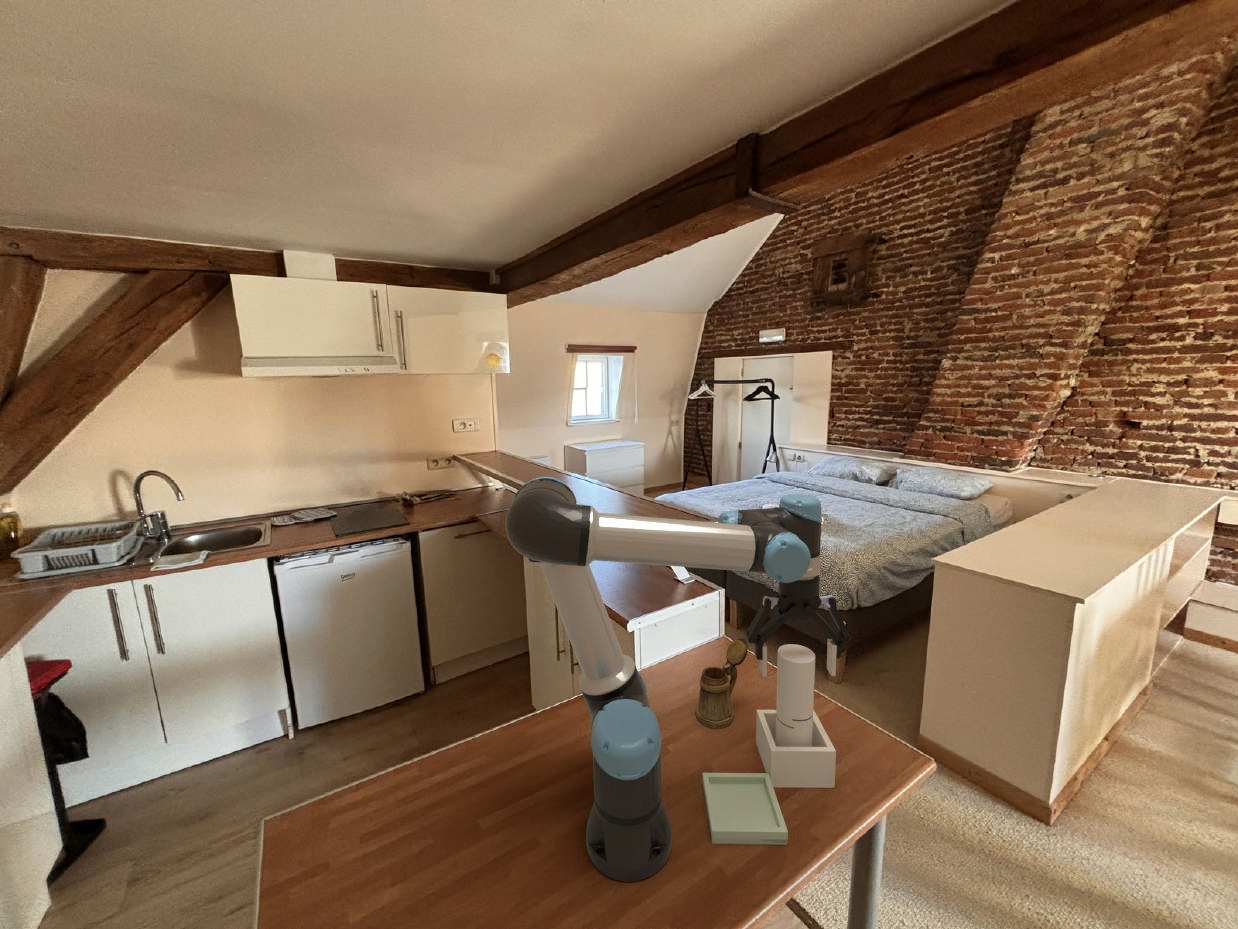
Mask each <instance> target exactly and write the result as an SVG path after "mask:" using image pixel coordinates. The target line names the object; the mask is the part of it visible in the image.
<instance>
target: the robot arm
mask: <svg viewBox="0 0 1238 929" xmlns="http://www.w3.org/2000/svg"><path fill="white" fill-rule="evenodd" d="M821 503H822V502H821V501H820V500H819V498H818V497H816V496H813V495H810V494H805V493H804V494H803V493H789V494H784V495H782V496H781V497H780V500H779V503H778V506H777V507H769V508H767V507H765V508H750V509H739V508H737V509H735V510H734V509H733V510H726V511H723V512H721V513H720V514H719V515H718V516H719V517H718V520H717V522H713V521H702V520H689V519H688V520H687V519H676V518H667V517H666V518H664V517H653V516H644V515H643V516H641V515H631V514H630V515H629V514H621V513H619V514H618V513H617V514H616V513H607V512H598V511H597V510H596V508H595V507H594V506H593V505H585V504H578V503H577V498H576V495H575V493H574V491H573V490H572V489H571V488H570V487H569V485H568V484H567V483H565V482H564V481H562V480H561V479H558V478H555V477H553V476H552V477H551V476H540V477H535V478H532V479H531V480H529V481H527V482H526V483H524V484H522V486H520V488H519V489H518V490H517V491H516V492H515V495H514V498H513V500H512V502H511V504H510V506H509V507H508V509H507V512H506V514H505V520H504V528H505V529H504V530H505V533H506V537H507V540H508V541H509V543H510V544H511V546H512V547H513V549H514V550H515V551H516V552H517V553H519V554H520V555H522V556H524V557H525V558H527V560H528V562H529V563H530V564H533V565H536V566H539V567H540V570H541V571H542V574H543V576H544V579H545V582H546V584H547V587H548V589H549V592H550V594H551V597H552V600H553V602H554V604H555V607H556V609H557V611H558V614H559V616H560V619H561V621H562V625H563V627H564V629H565V632H566V635H567V637H568V640H569V642H570V644H571V647H572V650H573V652H574V655H575V657H576V660H577V662H578V665H579V667H580V669H581V675H580V677H579V680H578V686H579V690H580V691H581V694H582V696H583V699H584V701H585V704H586V707H587V709H588V712H589V717H590V726H591V727H590V728H591V732H590V746H591V750H592V772H593V775H592V776H593V793H594V801H593V805H592V807H591V810H590V814H589V816H588V818H587V823H586V828H585V829H586V830H585V842H586V845H585V846H586V851H587V854H588V856H589V860H590V861H591V863H592V864H593V865H594V867H595V868H596V869H597V870H598V872H600V873H601V874H603V875H604V876H606V877H608V878H610V879H612V880H616V881H620V882H629V883H630V882H631V883H632V882H639V881H642V880H646V879H648V878H650V877H652V876H654V875H655V874H657V873H658V872H659V871H660V870H662V868H663V867H664V865H665V864H667V861H668V859H669V857H670V855H671V851H672V847H673V830H672V829H673V828H672V824H671V820H670V817H669V815H668V813H667V810H666V807H665V804H664V802H663V800H662V770H661V769H662V767H661V766H662V765H661V763H662V762H661V761H662V757H661V754H662V753H661V750H662V741H663V740H662V733H661V729H660V723H659V720H658V718H657V716H656V714H655V712H654V711H653V710H652V709H651V706H650V703H649V699H648V694H647V693H648V691H647V687H646V686H647V685H646V683H645V681H644V678H643V677H642V676H641V673H640V672H639V671H638V669H637V666H636V663H635V661H634V659H633V658H632V657H631V656H629V655H627V654H625V653H623V650H622V648H621V645H620V643H619V640H618V638H617V635H616V634H617V633H616V632H615V629H614V627H613V624H612V621H611V619H610V618H611V617H610V615H609V614H608V611H607V608H606V605H605V603H604V599H603V598H602V595H601V592H600V589H599V586H598V584H597V582H596V579H595V576H594V574H593V570H592V568H591V565H590V564H592V563H593V562H595V561H598V562H612V563H624V564H625V563H626V564H638V565H640V564H641V565H654V566H666V567H667V566H669V567H679V568H680V567H682V568H694V569H696V568H697V569H707V570H708V569H709V570H722V571H725V570H726V571H734V572H735V571H738V572H750V573H762V574H766V575H767V576H768V577H769V578H771V579H774V580H776V581H778V594H777V597H775V596H774V597H773V596H769V595H768V594H763V595H762V596H761V603H760V604H761V605H760V607H759V608H758V610H757V612H756V614H755V616H754V618H753V620H752V621H751V623H750V625H749V627H748V629H747V631H746V633H745V637H746V641H747V643H749V644H754V655H755V657H756V660H758V661H759V670H760V673H761V675H762V678H767V677H768V671H767V670H768V667H767V666H768V646H767V644H766V642H767V641H768V640H769V639H770V638H771V637H772V636H773V635H774V633H776V632H777V630H778V629H780V627H781V626H782V625H783V624H785V623H786V622H788V620H789V619H790V620H791V621H797V620H802V621H808V620H809V619H810V618H812V619H813V620H814V621H815V622H816V623H817V624H818V625H819V626H820V627H821V629H823V631H824V632H825V633H826V634H827V636H829V637H830V638H827V650H826V651H827V652H826V654H827V655H826V669H827V671H828V672H829V674H830V675H831V677H836V676H837V675H836V674H837V672H836V671H837V660H838V659H841V656H842V647H844V646H845V642H847V643H850V642H851V641H852V639H853V637H852V636H851V634H850V632H849V629H847V626H846V625H845V622H844V620H843V618H842V616H841V614H840V613H839V611H838V609H837V606H838V605H837V599H836V598H835V597H834V596H833V595H832V594H831V593H830V592H827V593H826V594H825V595H824V596H820V585H821V584H820V583H821V578H820V576H819V575H820V572H821V545H822V544H821V539H822V538H821V536H822V523H823V517H822V516H823V515H822V514H823V513H822V504H821ZM776 605H778V608H777V609H776V611H775V612H774V614H773V616H771V618H770V619H769V620H768V621H767V622H766V620H767V618H768V617H769V615H770V613H771V610H773V609H774V608H775V606H776ZM821 605H823V606H824V607H825V608H827V610H828V612H829V614H830V616H831V617H832V619H833V622H834V623H835V626H836V627H837V629H838V631H839V633H836V632H835V630H833V628H832V627H831V626H830V625H829V624H828V623H827V622H826V620H825V619H824V618H823V617H822V616H821V615H820V614H819V613H818V611H817V610H818V609H819V608H820V607H821ZM765 622H766V623H765Z"/></svg>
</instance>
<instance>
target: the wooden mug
mask: <svg viewBox="0 0 1238 929" xmlns="http://www.w3.org/2000/svg"><path fill="white" fill-rule="evenodd" d="M748 649H749V648H748V641H747V638H743V637H741V638H736V639H734V640H733V641H732V642H731V643H730V644H729V645H728V648H727V651H726V662H725V664H724V666H722V668H720V667H717V666H708V667H705V668H704V669H702V672H701V675H700V678H699V686H700V689H699V696H698V701H697V702H698V703H697V705H696V710H695V717H696V719H697V721H698V722H699V723H700V724H701V725H702V726H703V725H704V726H705V727H708V728H711V729H717V730H718V729H724V728H726V727H728V726H729V725H731V724H732V723H733V722H734V719H735V716H734V708H733V706H732V703H731V702H732V701H731V696H732V693H733V690H734V688H735V685H736V682H737V679H738V669H737V666H740V665H742V663H744V661H745V660H746V657H747V655H748V652H749V651H748ZM729 676H730V678H729Z"/></svg>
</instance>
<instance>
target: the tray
mask: <svg viewBox="0 0 1238 929" xmlns="http://www.w3.org/2000/svg"><path fill="white" fill-rule="evenodd" d="M702 788H703V795H704V801H705V807H706V813H707V814H706V815H707V820H708V826H709V827H708V828H709V833H710V839H711V844H714V845H715V844H717V845H778V846H779V845H782V846H783V845H788V844H789V843H788V842H789V831H788V828H787V825H786V822H785V819H784V816H783V813H782V810H781V807H780V804H779V801H778V798H777V794H776V791H775V789H774V788H775V787H773V785H772V782H771V779H770V776H769V773H766V772H765V773H763V772H761V773H759V772H758V773H757V772H754V773H753V772H702Z"/></svg>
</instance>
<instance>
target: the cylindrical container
mask: <svg viewBox="0 0 1238 929" xmlns="http://www.w3.org/2000/svg"><path fill="white" fill-rule="evenodd" d="M776 664H777V666H776V667H777V669H776V701H775V702H776V703H775V705H776V706H775V707H776V708H775V710H776V739H775V745H776V747H812V731H813V710H814V704H815V703H814V702H815V701H814V700H815V676H816V675H815V674H816V672H815V671H816V654H815V652H814V651H812V650H811V649H810V648H808V647H807V646H803V645H800V644H793V643H792V644H791V643H788V644H783V645H781V646H779V647H778V648H777V663H776Z"/></svg>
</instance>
